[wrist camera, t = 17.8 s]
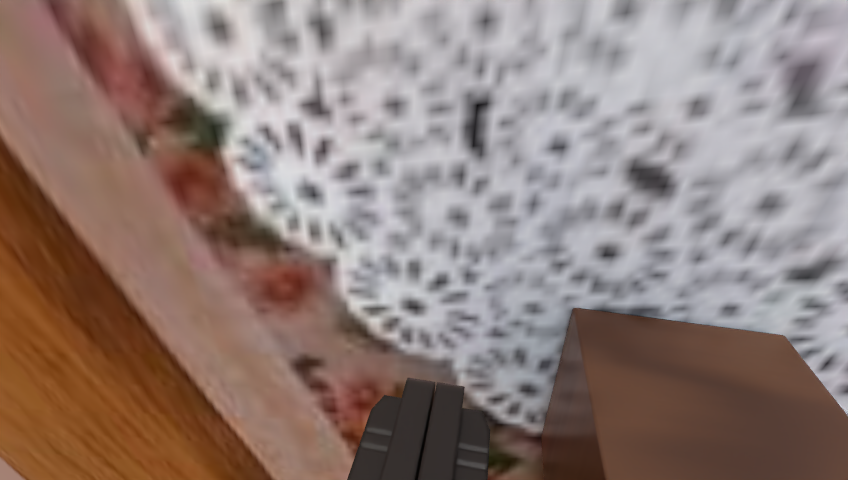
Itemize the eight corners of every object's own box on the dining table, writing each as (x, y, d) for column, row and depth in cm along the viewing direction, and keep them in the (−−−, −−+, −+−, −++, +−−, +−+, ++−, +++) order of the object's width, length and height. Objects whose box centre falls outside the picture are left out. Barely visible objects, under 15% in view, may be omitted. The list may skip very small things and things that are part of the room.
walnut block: (540, 437, 14) (552, 634, 10) (573, 306, 12) (607, 490, 7) (713, 467, 14) (808, 690, 9) (785, 334, 11) (958, 552, 7)
